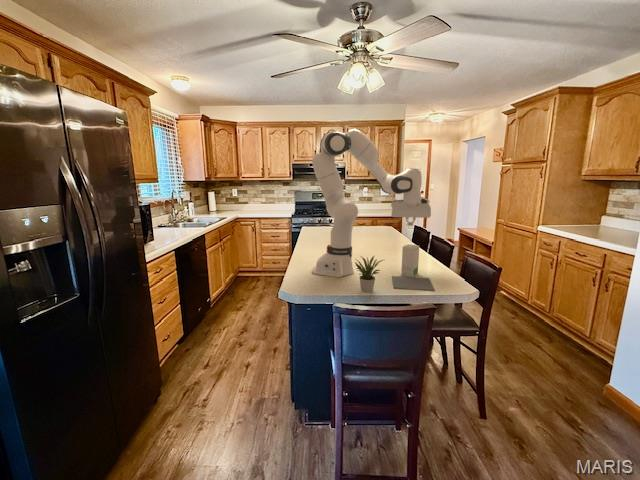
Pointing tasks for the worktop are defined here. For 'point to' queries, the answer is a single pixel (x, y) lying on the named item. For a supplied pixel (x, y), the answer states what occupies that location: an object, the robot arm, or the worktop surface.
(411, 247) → the skincare box
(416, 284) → the mat
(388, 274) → the worktop surface
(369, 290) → the house plant
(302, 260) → the worktop surface
